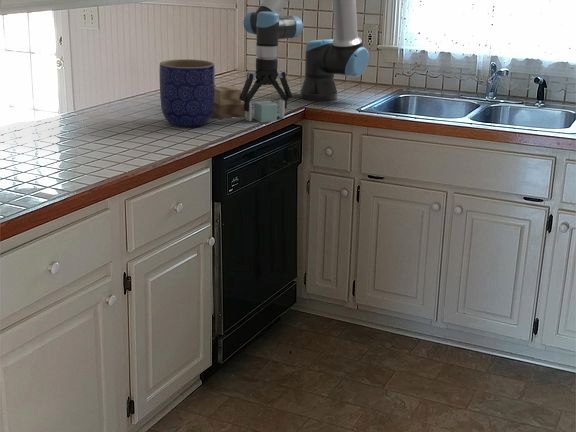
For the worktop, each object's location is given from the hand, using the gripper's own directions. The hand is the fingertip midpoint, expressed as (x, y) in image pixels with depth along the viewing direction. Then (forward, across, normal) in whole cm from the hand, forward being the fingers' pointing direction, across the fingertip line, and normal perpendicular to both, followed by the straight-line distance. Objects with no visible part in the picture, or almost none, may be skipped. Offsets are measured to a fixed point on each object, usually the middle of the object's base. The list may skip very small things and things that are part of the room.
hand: (265, 119), depth 288 cm
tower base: (+1, +10, -12) cm, 15 cm away
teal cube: (0, 0, 0) cm, 0 cm away
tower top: (-4, +10, -12) cm, 16 cm away
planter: (0, +28, -3) cm, 28 cm away
